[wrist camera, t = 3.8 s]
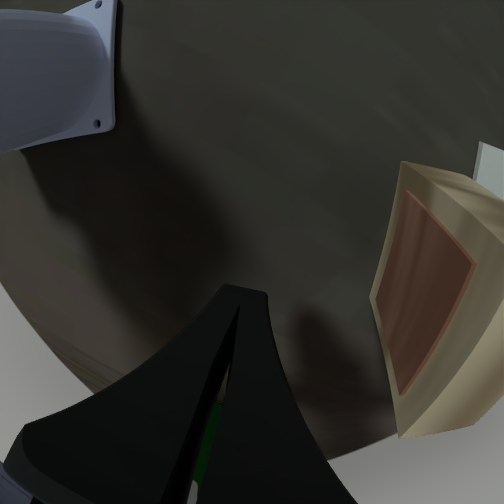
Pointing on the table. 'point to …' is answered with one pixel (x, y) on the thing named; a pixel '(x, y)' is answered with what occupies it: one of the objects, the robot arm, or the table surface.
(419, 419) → the wooden block
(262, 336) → the robot arm
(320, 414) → the table surface
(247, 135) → the table surface
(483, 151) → the pale grey mat
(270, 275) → the table surface
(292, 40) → the table surface
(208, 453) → the milk carton
